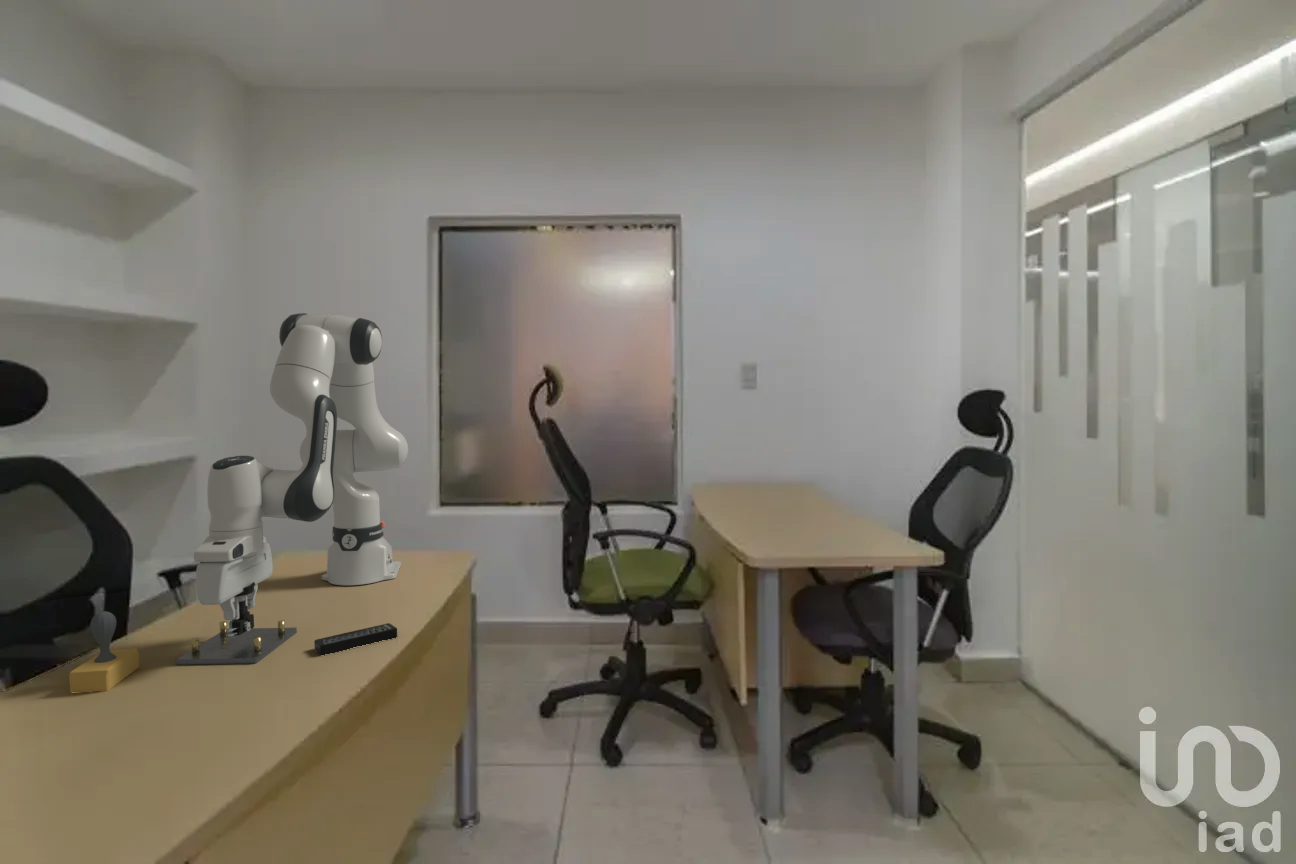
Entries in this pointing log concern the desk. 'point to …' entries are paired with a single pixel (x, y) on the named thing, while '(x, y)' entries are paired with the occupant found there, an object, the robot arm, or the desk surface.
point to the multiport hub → (355, 639)
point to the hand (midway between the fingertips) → (239, 613)
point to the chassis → (237, 646)
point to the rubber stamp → (104, 660)
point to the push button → (242, 613)
